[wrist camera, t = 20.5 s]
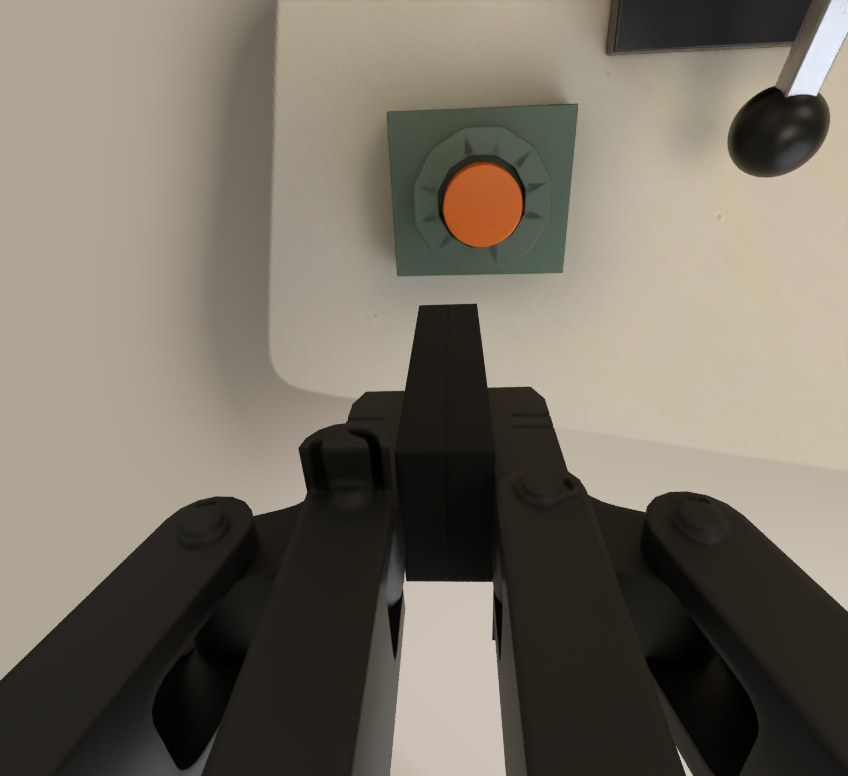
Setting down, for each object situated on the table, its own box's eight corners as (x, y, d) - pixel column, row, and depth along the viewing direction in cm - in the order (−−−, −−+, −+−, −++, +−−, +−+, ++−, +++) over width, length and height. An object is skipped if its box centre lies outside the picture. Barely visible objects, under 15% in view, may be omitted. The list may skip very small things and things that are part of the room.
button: (444, 240, 26) (443, 248, 24) (443, 162, 24) (442, 165, 22) (516, 238, 25) (520, 246, 24) (520, 159, 24) (524, 162, 22)
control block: (401, 266, 30) (393, 286, 26) (392, 111, 26) (381, 111, 23) (555, 262, 29) (568, 282, 26) (569, 104, 26) (587, 103, 22)
